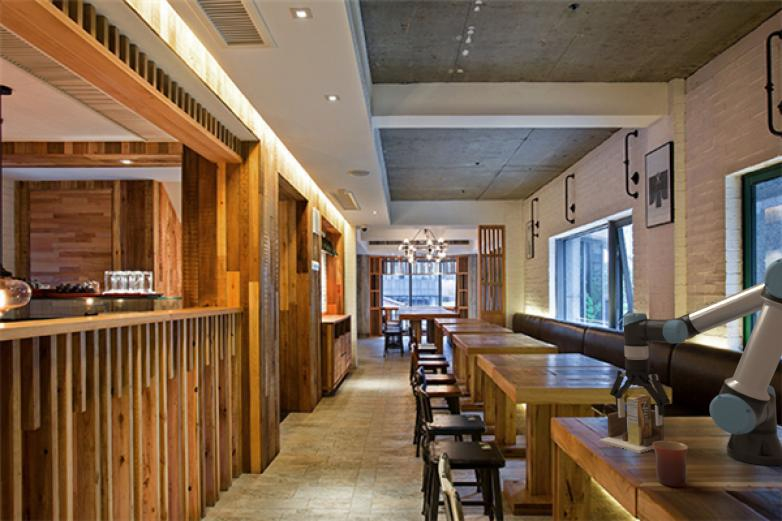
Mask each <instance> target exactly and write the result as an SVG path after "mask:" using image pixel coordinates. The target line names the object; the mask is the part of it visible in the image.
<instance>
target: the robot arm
mask: <svg viewBox="0 0 782 521" xmlns="http://www.w3.org/2000/svg"><path fill="white" fill-rule="evenodd" d="M757 312H759V314H758V317H757V318H756V321H755V323H754V326H753V328H752V331H751V333H750V334H749V335H750V336H749V338H748V340H747V343H746V345H745V347H744V350H743V351H742V355H741V357H740V359H739V362H738V364H737V367H736V369H735V372H734V374H733V376H731V377H729V378H726V379H725V380H724V382H723V384H722V386H721V389H720V390H719V393H718V395H716V396H715V397H714V398H713V399H712V400H711V402H710V404H709V414H710V417H711V418H712V420H713V422H714V423H715V425H716V426H717V427H718V428H720V430H723V431H724V432H726V433H728V434H730V436H729V438H728V441H727V444H726V455H727V456H728V457H730V458H732V459H734V460H736V461H741V462H744V463H747V464H753V465H760V466H780V465H782V443H781V441H780V438H779V435H778V424H777V423H778V422H777V402H776V398H777V394H776V391H775V390H776V389H775V388H774V387H773V386H772V385H770V383H771V380H772V379H773V377H774V375H775V372H776V369H777V368H778V366H779V362H780V360H781V358H782V257H781V258H778V259H776V260H774V261H772V262H770V264H768V266H767V268H766V269H765V271H764V275H763V281H762V282H759V283H757V284H755V285H752V286H750V287H748V288H746V289H745V288H744V289H743V290H740V291H738V292H736V293H733V294H731V295H729V296H726V297H724V298H721V299H719V300H717V301H715V302H712V303H710V304H707V305H705V306H703V307H701V308H698V309H696V310H693V311H691V312H688V313H687V314H683V315H681V316H678V317H675V318H665V319H653V318H648V315H647V314H646V313H645V312H627V313H624V314H623V318H622V319H623V320H622V324H623V325H622V328H623V329H622V330H623V341H624V342H623V344H624V345H623V346H624V349H623V350H624V351H623V352H624V357H625V359H624V367H625V368H624V369H625V370H624V369H621V370H620V369H619V370H617V373H616V374H617V376H616V378H615V381H614V383H613V386H612V388H611V390H610V392H609V395H610V396H613V397H614V398H615V407H616V408H617V412H618V417H619V418H622V417H625V410H626V409H625V397H623V396H624V395H625V394H626V392H627V391H628V390H630V389H629V388H630V387H631V386H638V387H643V389H645V390H646V392H648V394H649V396H651V398H652V399H653V401H654V402H655V403H656V404H655V405H654V411H655V416H656V425H657V426H659V425H663V421H664V418H663V419H662V415H663V416H664V415H665V414H666V413H665V406H666V405H669V404H671V401H670V399H669V396H668V395H667V392H666V390H665V389H664V387H663V385H662V383H661V380H660V375H659V374H658V373H655V374H650V360H649V359H648V358H649V357H650V355H649V352H650V351H649V342H654V343H656V342H657V343H667V344H683V343H685V342H686V340H690V339H693V338H695V337H696V336H698V335H701V334H703V333H705V332H707V331H711V330H712V329H713V330H714V329H716V328H718V327H721V326H724V325H726V324H728V323H731V322H734V321H736V320H738V319H741V318H745V317H747V316H749V315H752V314H754V313H757ZM625 377H626V378H627V379H626V380H625V382H624V379H625ZM623 382H624V383H623ZM651 382H652V383H651ZM622 383H623V385H622ZM621 385H622V386H621Z"/></svg>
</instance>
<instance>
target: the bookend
mask: <svg viewBox="0 0 782 521" xmlns="http://www.w3.org/2000/svg"><path fill="white" fill-rule="evenodd" d="M662 419H663V425H659V426H657V425H656V416H655V409H651V427H652V436H650V437H647V438H643V446H644V447H648V446H651V445H653V444H652V443H653V442H655V441H665V424H664V422H665V420H664V415H662ZM623 441H625V442H626V441H628V432H626V433H623Z"/></svg>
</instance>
